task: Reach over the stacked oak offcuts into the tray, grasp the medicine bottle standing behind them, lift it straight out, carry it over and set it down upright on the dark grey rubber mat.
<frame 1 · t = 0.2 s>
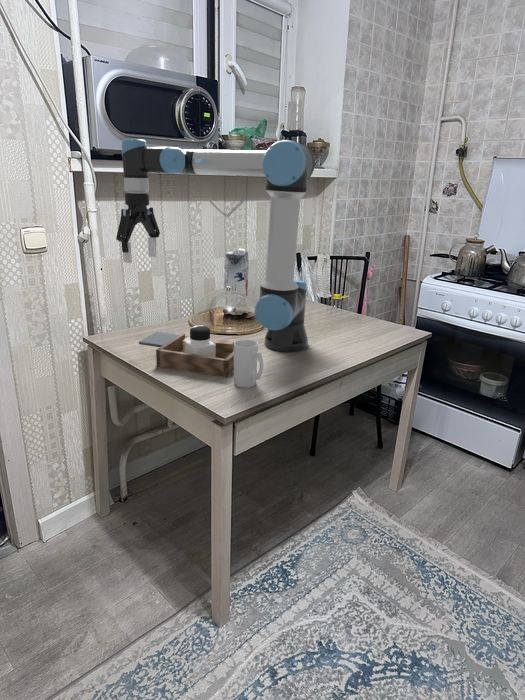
hand: (140, 259, 158), 28 cm above the table, fingers open, 13 cm apart
medicine bottle: (200, 364, 147), resting in tray
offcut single: (195, 354, 155), resting in tray
offcut lower: (223, 359, 152), resting in tray, touching offcut upper
juice carton: (235, 313, 202), on the table
mug: (248, 385, 134), on the table
mat: (165, 340, 166), on the table
tray: (203, 361, 149), on the table
offcut upper: (223, 350, 151), point 3 cm above the table, touching offcut lower
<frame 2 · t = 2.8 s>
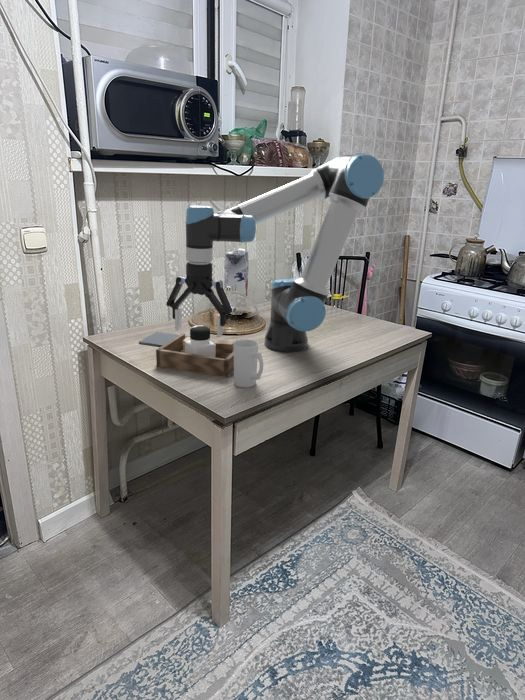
hand: (198, 332, 143), 10 cm above the table, fingers open, 13 cm apart
nothing on the table moved.
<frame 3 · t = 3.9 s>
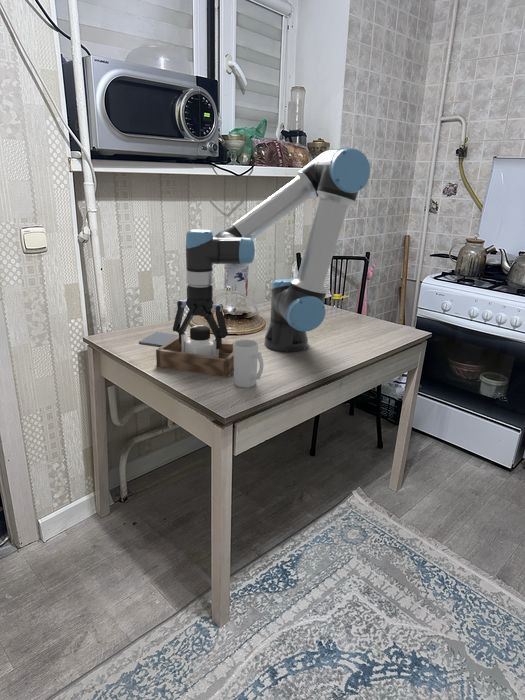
hand: (200, 355, 146), 3 cm above the table, fingers closed on medicine bottle, 10 cm apart
medicine bottle: (200, 364, 147), resting in tray, touching gripper
offcut lower: (223, 360, 152), resting in tray
offcut upper: (223, 351, 151), point 3 cm above the table
everything else where it was.
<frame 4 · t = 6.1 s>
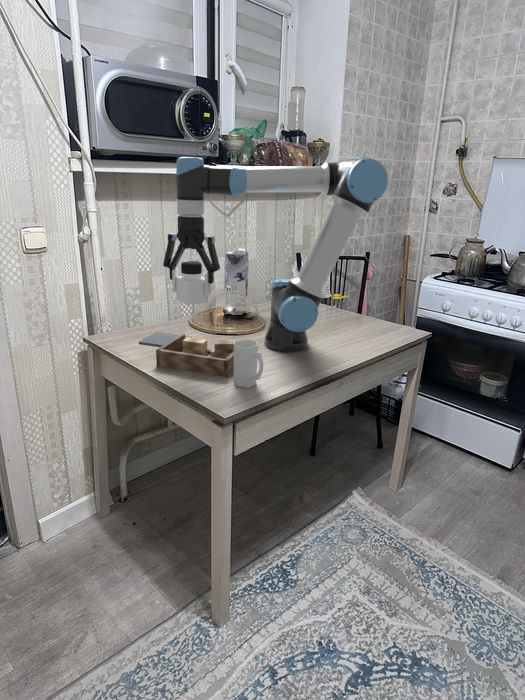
hand: (191, 292, 143), 22 cm above the table, fingers closed on medicine bottle, 10 cm apart
medicine bottle: (192, 301, 144), point 19 cm above the table, touching gripper
offcut lower: (224, 360, 152), resting in tray, touching offcut upper
offcut upper: (224, 351, 151), point 3 cm above the table, touching offcut lower
everything else where it was.
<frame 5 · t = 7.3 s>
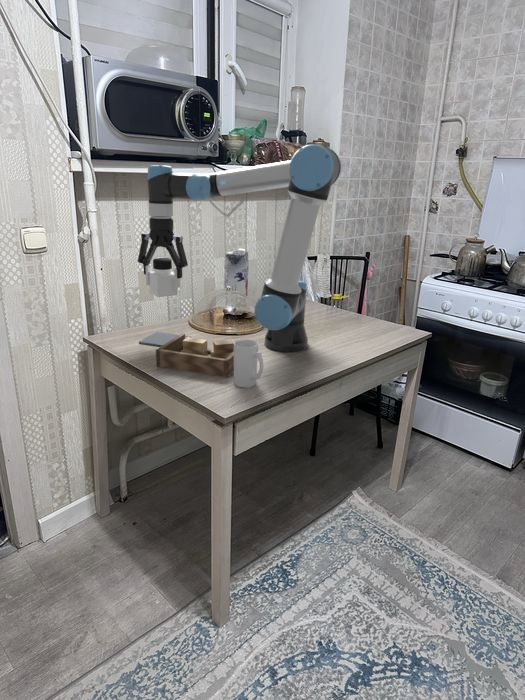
hand: (163, 286, 159), 19 cm above the table, fingers closed on medicine bottle, 10 cm apart
medicine bottle: (163, 294, 160), point 17 cm above the table, touching gripper
offcut lower: (224, 360, 152), resting in tray
offcut upper: (223, 351, 151), point 3 cm above the table
everything else where it was.
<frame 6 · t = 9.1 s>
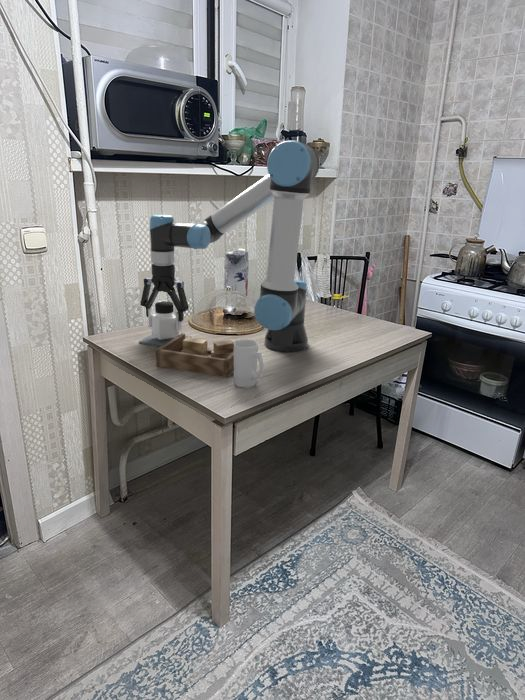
hand: (165, 328, 164), 5 cm above the table, fingers closed on medicine bottle, 10 cm apart
medicine bottle: (165, 336, 165), point 2 cm above the table, touching gripper
when the fingers open (4 cm above the table, at t = 9.7 s): medicine bottle stays where it is, resting on mat.
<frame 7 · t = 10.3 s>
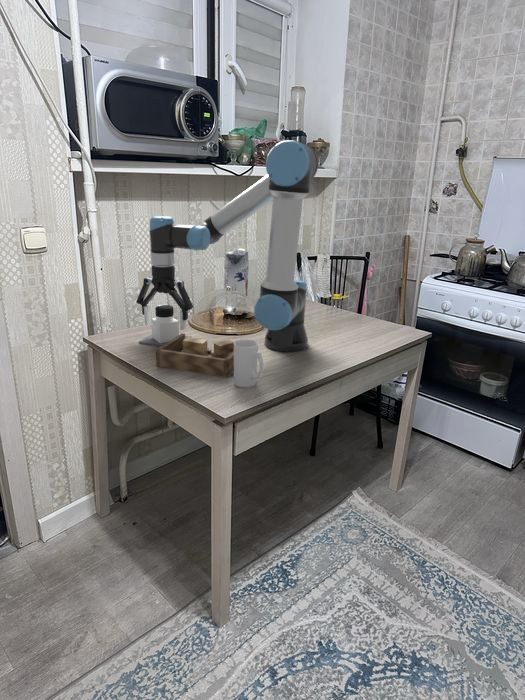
hand: (165, 326, 164), 5 cm above the table, fingers open, 13 cm apart
medicine bottle: (165, 339, 166), resting on mat
everything else where it was.
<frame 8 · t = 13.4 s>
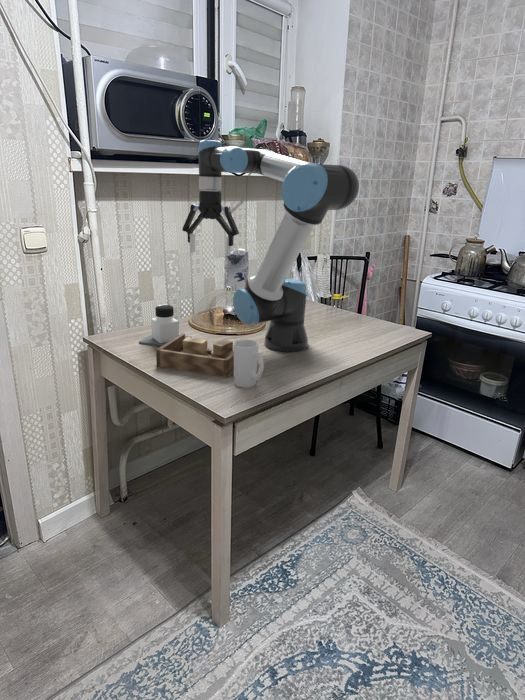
hand: (210, 253, 168), 29 cm above the table, fingers open, 13 cm apart
offcut lower: (224, 360, 152), resting in tray, touching offcut upper
offcut upper: (223, 351, 151), point 3 cm above the table, touching offcut lower
everything else where it was.
at the end: medicine bottle inside the target area on the mat (0.1 cm from its centre), point 0.4 cm above the mat's base; medicine bottle tilted 0°; the gripper is holding nothing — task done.
